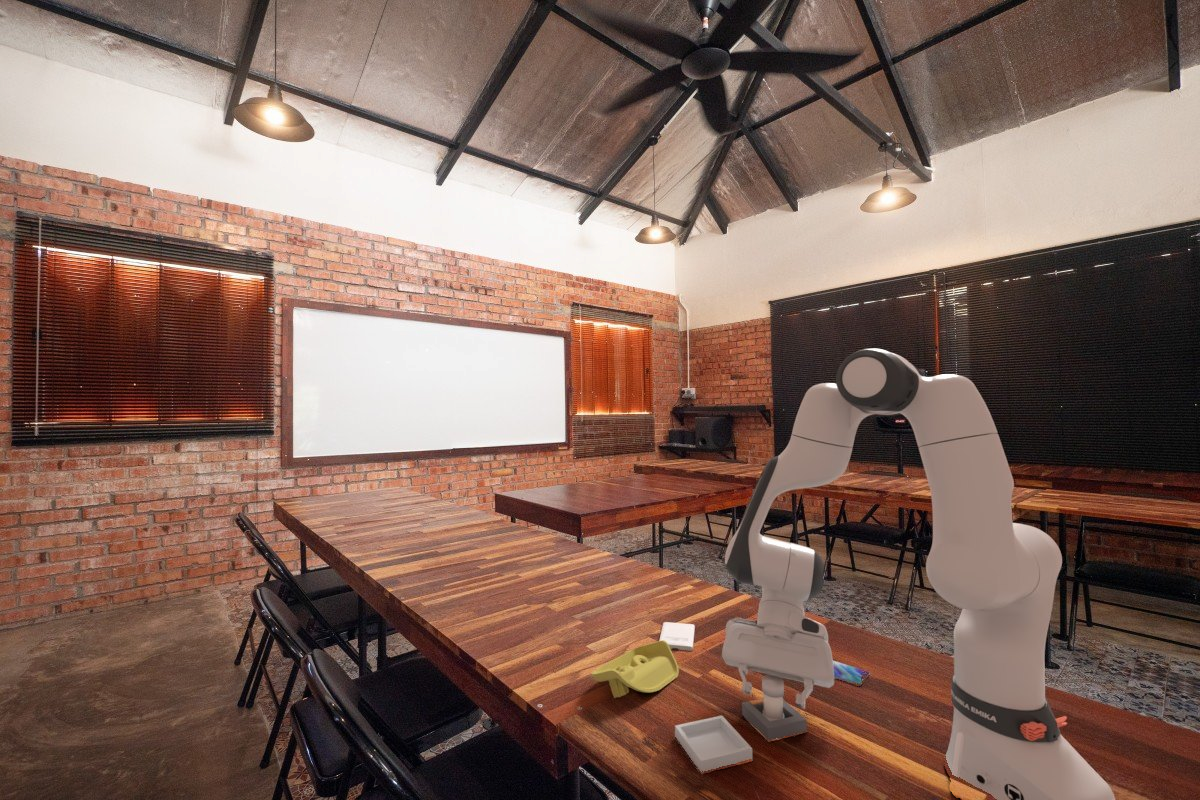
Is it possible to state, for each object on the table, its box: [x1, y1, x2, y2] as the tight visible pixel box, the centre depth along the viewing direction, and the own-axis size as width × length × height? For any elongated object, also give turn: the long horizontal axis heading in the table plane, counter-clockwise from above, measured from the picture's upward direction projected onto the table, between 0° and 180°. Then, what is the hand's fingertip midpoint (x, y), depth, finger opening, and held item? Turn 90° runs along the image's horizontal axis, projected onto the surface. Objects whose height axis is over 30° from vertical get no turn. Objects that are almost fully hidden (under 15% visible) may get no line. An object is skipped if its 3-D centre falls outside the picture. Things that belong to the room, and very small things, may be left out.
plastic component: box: [590, 640, 680, 699], centre depth 107 cm, size 20×7×10 cm
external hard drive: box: [658, 621, 696, 652], centre depth 129 cm, size 2×8×12 cm
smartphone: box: [833, 659, 871, 684], centre depth 113 cm, size 7×1×15 cm
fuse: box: [761, 674, 785, 721], centre depth 93 cm, size 4×4×8 cm
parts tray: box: [674, 714, 753, 772], centre depth 87 cm, size 9×9×2 cm
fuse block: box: [741, 697, 808, 740], centre depth 93 cm, size 8×8×3 cm
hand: (772, 699), depth 93 cm, fingers open, 8 cm apart
